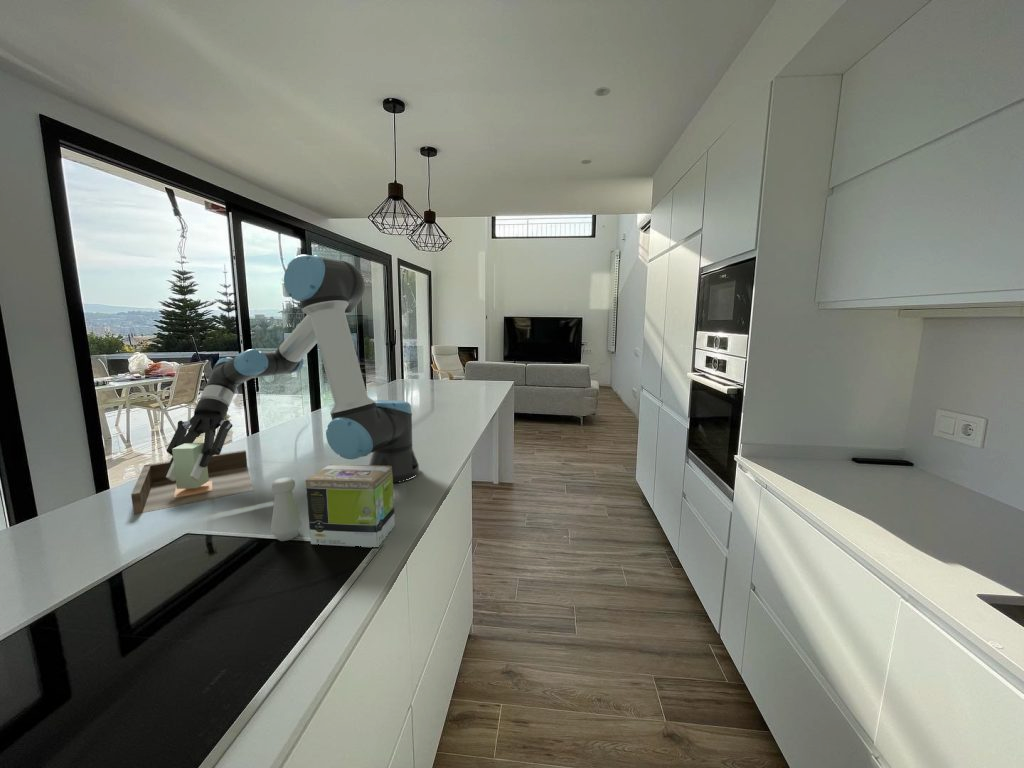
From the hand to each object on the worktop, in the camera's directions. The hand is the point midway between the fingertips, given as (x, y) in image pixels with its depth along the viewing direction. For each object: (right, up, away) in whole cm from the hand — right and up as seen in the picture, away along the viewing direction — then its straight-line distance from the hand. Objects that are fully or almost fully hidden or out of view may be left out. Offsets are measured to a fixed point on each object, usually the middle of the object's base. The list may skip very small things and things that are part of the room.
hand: (182, 478), depth 106 cm
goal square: (0, -4, +4) cm, 6 cm away
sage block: (0, -3, +4) cm, 5 cm away
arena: (-1, -5, +7) cm, 8 cm away
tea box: (+52, -9, -17) cm, 55 cm away
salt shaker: (+37, -9, -17) cm, 42 cm away
